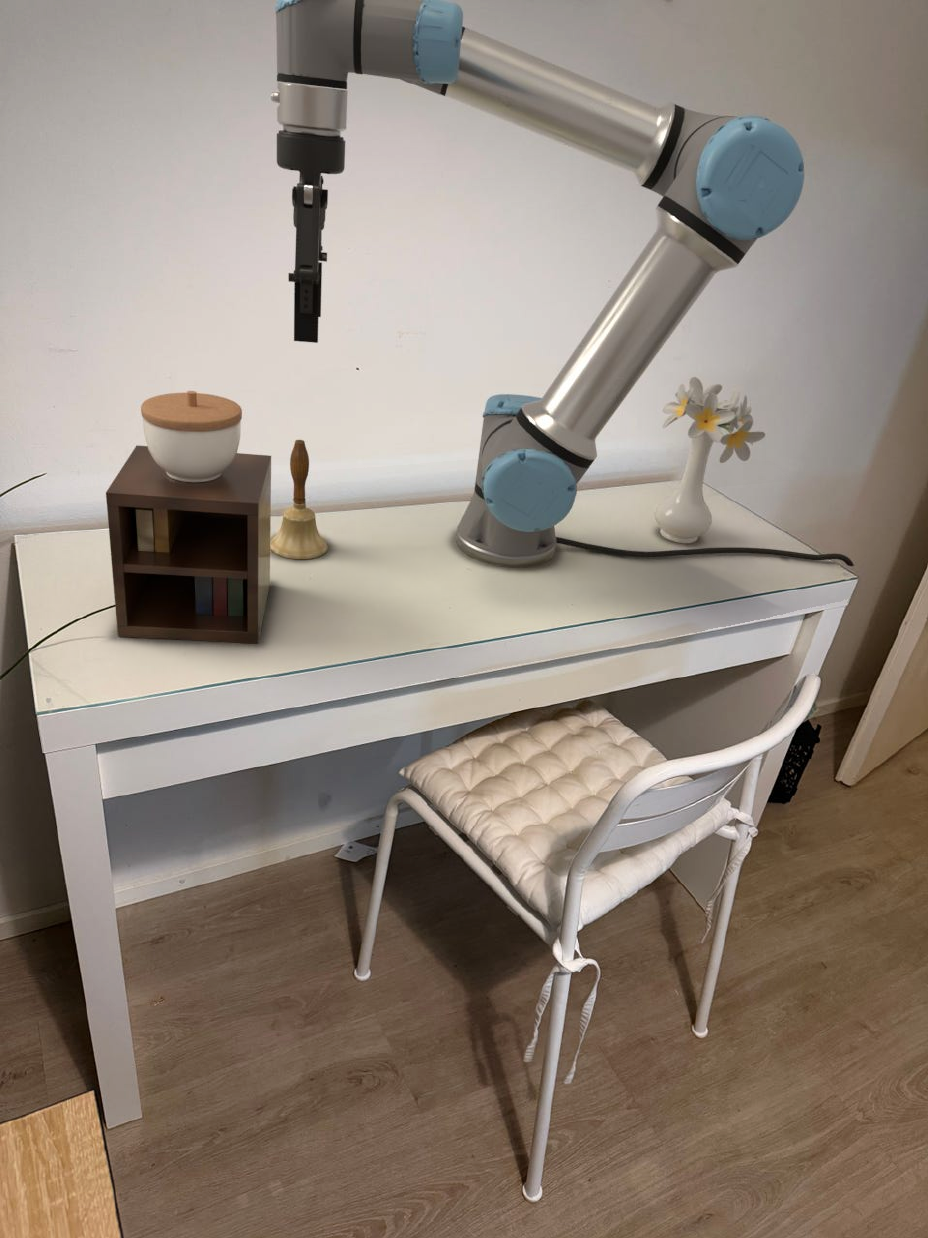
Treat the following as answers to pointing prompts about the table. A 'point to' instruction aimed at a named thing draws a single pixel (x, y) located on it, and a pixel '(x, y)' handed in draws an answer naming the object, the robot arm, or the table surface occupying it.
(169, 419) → the trinket box
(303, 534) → the hand bell
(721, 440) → the flower vase
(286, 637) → the table surface
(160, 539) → the bookshelf
